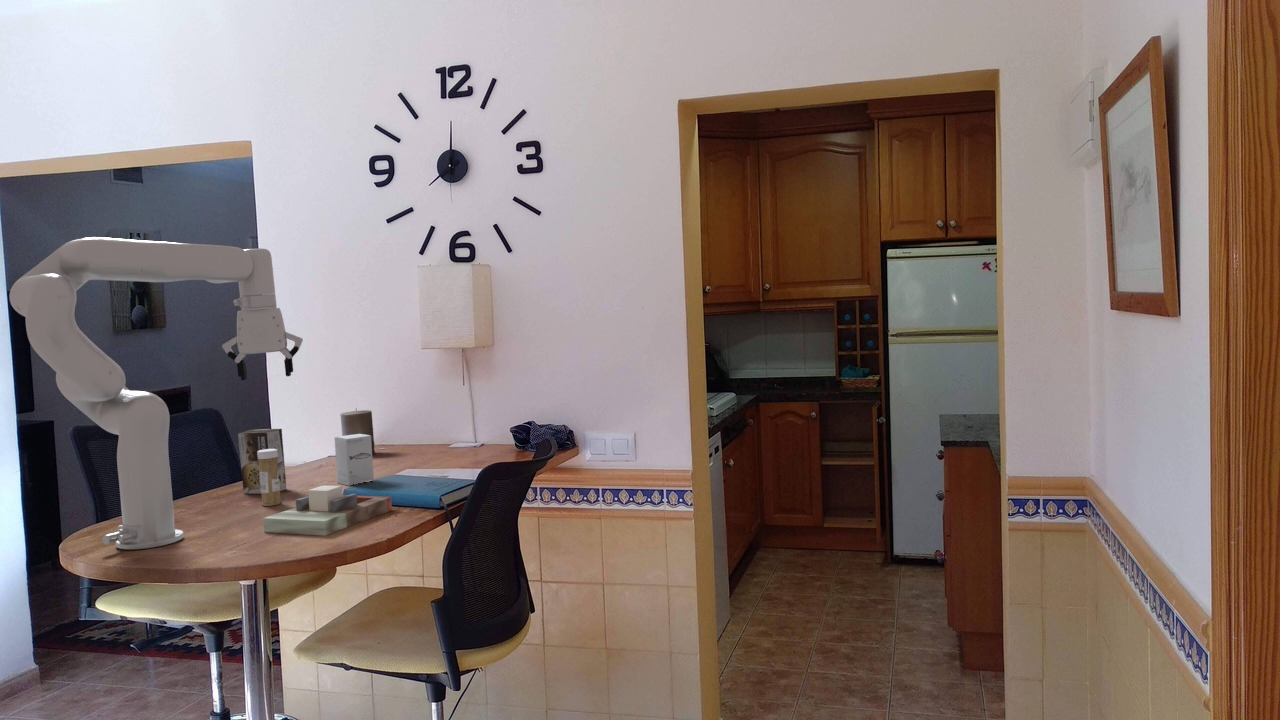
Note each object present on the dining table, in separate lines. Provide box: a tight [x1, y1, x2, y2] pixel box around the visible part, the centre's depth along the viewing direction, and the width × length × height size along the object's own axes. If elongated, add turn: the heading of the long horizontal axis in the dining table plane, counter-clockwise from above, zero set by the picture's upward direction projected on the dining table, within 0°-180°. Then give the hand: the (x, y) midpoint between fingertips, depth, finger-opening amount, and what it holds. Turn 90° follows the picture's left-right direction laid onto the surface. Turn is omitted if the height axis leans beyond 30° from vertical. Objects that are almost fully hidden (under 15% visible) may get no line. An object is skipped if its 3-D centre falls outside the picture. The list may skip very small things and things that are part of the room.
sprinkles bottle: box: [257, 449, 282, 507], centre depth 229 cm, size 5×5×13 cm
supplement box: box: [334, 434, 375, 487], centre depth 253 cm, size 7×7×13 cm
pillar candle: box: [339, 407, 376, 455], centre depth 299 cm, size 10×10×15 cm
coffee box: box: [237, 428, 287, 495], centre depth 246 cm, size 9×6×16 cm
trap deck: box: [262, 493, 393, 536], centre depth 209 cm, size 23×16×6 cm
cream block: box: [307, 485, 343, 511], centre depth 208 cm, size 5×5×4 cm
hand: (266, 377), depth 217 cm, fingers open, 9 cm apart
